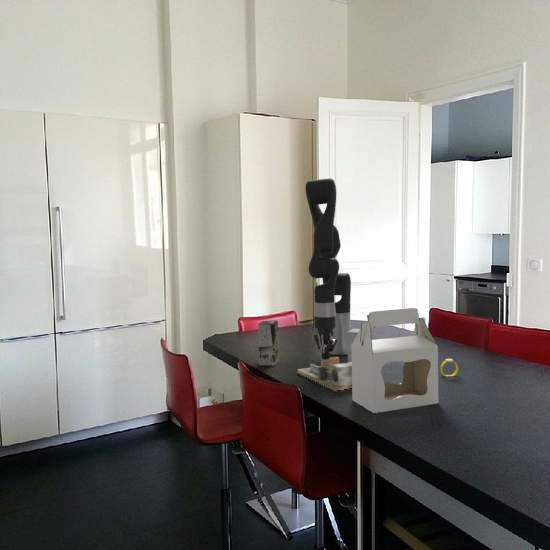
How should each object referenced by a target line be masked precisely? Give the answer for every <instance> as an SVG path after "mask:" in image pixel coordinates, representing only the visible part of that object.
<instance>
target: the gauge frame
mask: <svg viewBox="0 0 550 550" xmlns="http://www.w3.org/2000/svg"><path fill="white" fill-rule="evenodd" d="M320 366H321V365H316V364H314V363H309V367H304V368H303V367H302V368H298V369H297V374H298V375H300V376H302V377H304V378H306V377H307V378H306V379H308V378H309V379H308V380H310V379H311V380H310V381H312V380H313V381H312V382H314V381H315V382H314V383H316V382H317V383H316V384H318V383H319V384H318V385H320V384H321V386H322V385H323V386H322V387H324V386H325V387H324V388H326V387H327V388H326V389H328V388H329V389H328V390H330V389H331V390H330V391H332V390H333V391H332V392H334V391H335V392H338V391H337V390H341V391H345V390H344V389H347V390H351V389H350V388H352V362H349V363H348V362H344V363H343V362H342V363H340V362H339V364H336V365H332V372H330V371H328V370H326V377H327V378H323V379H320V378H319V370H318V369H317V367H320Z"/></svg>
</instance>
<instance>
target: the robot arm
mask: <svg viewBox="0 0 550 550" xmlns="http://www.w3.org/2000/svg"><path fill="white" fill-rule="evenodd" d="M305 195H306V200H307V204H308V207H309V211H310V215H311V218H312V225H313V251H312V255H311V259H310V262H309V265H308V273H309V276H310V277H311V278H313V279H322V283H321V284H317V285H315V286H314V290H313V291H314V293H313V294H314V306H313V321H314V322H313V325H314V329H316V330H317V332H316V334H314V335H313V338H314V341H315V343H316V346H317V350H320V351H319V352H320V353H321V359H324V358H330V355H335V356H344V355H348V343H347V332H348V331H350V330H351V327H352V326H351V325H352V324H351V292H352V289H351V288H352V281H351V280H352V279H351V276H350V274H349V273H347V272H340V271H339V270H340V263H339V261H338V260H337V259H336V258H337V256H338V254H339V252H340V249H341V239H340V233H339V229H338V227H336V226H335V223H334V222H335V216H336V206H337V205H336V204H337V185H336V183H335V180H334V179H333V178H331V177H330V178H322V179H321V178H319V179H312V180H307V182H306V183H305ZM320 205H325V206H326V207H325V209H324V211H322V210H321V207H320ZM335 296H341V297H340V300H337V301H336V300H335ZM335 301H336V302H335Z"/></svg>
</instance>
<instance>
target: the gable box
mask: <svg viewBox="0 0 550 550" xmlns="http://www.w3.org/2000/svg"><path fill="white" fill-rule="evenodd" d="M366 318H367V321H365V322H362V323H360V328H359V329H360V331H359V332H358V334H357V336H356V338H355V339H354V341H353V343H352V345H351V351H352V389H351V393H352V394H351V397H352V401H353V402H354V403H356V404H357V405H359V406H361V407H362V406H363V407H362V408H364V409H366V410H367V411H369V412H370V411H371V413H373V414H378V413H379V412H380V413H385V412H391V411H397V410H405V409H410V408H412V409H413V408H417V407H424V406H431V405H438V404H439V344H438V343H437V342H436V339H435V337H434V336H433V334H432V333H431V331H430V329H429V327H428V325H427V324H426V323H427V322H426V317H420V316H419V310H418V308H416V307H411V308H409V307H407V308H397V309H388V310H387V309H386V310H376V311H370V312H369V314H367V315H366ZM406 324H407V325H408V324H412V325H413V324H414V332H413V335H409V336H399V337H389V338H379V339H373V337H372V329H373V328H377V327H388V326H389V327H390V326H397V325H406ZM394 362H401V363H402V362H404V363H403V368H402V375H403V379H402V382H400V383H398V384H397V383H391V382H384V381H385V380H384V379H383V376H382V375H383V374H382V368H383V367H384V366H385V365H386V364H389V363H394Z"/></svg>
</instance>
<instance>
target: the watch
mask: <svg viewBox="0 0 550 550" xmlns="http://www.w3.org/2000/svg"><path fill="white" fill-rule="evenodd" d="M447 363H448V364H449V363H453V364H454V365H455V371H454V373H452V374H445V373H444V371H443V369H444V366H445V364H447ZM439 370H440V373H441V375H442V376H444V377H445V378H449V377H451V378H453V377H456V375H457V374H458V372H459V365H458V364H457V362H456V361H454V359H453V358H446V359H444V361H443V362H441V364H440V369H439Z"/></svg>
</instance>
